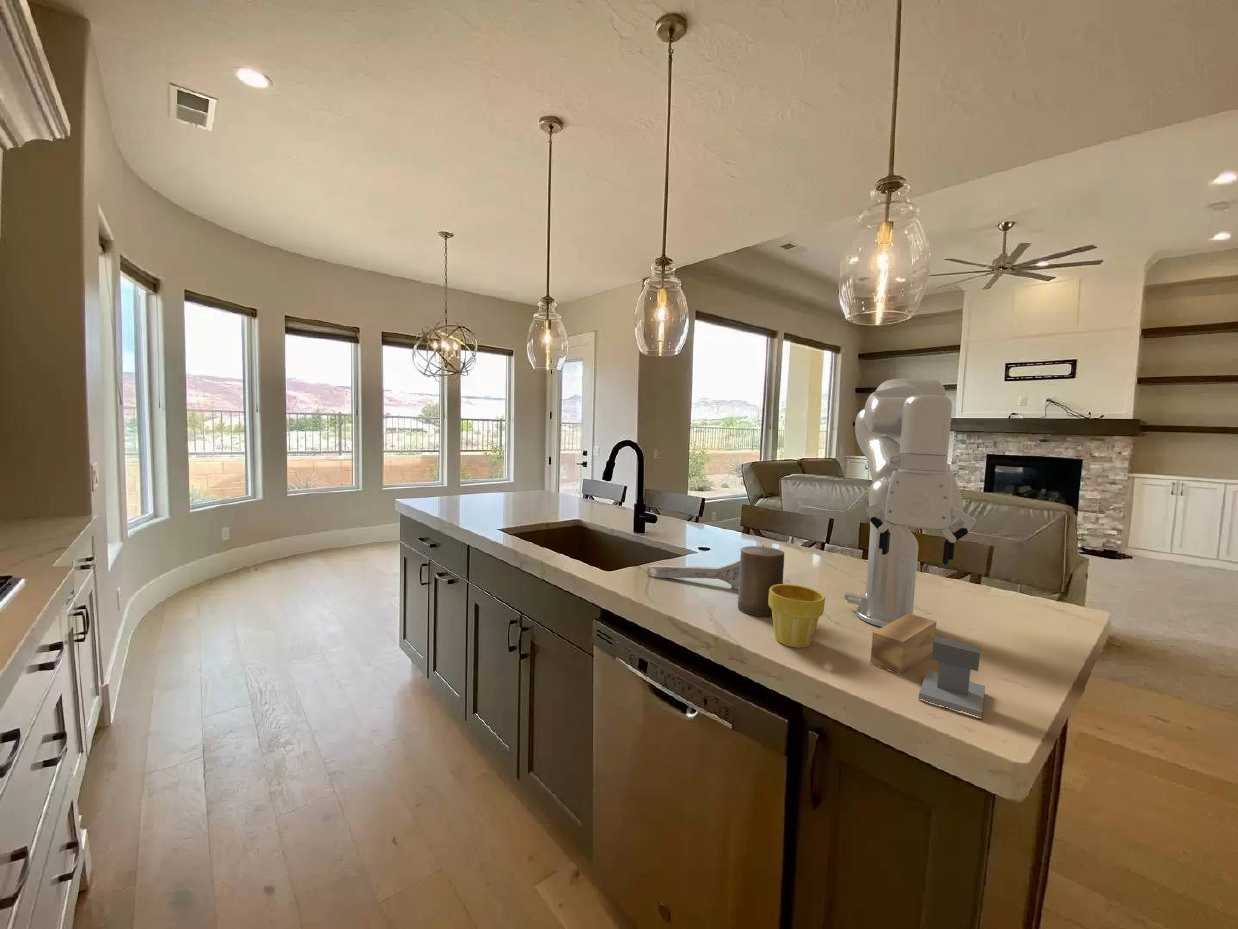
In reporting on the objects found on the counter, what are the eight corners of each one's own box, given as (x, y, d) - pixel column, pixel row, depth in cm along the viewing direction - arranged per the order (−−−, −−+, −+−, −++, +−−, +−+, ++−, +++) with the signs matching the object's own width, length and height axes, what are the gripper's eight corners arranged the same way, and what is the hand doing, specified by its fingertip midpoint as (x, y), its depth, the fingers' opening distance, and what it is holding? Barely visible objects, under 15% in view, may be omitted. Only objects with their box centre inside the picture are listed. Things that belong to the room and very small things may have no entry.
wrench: (649, 585, 141) (761, 589, 130) (647, 587, 140) (760, 591, 128) (647, 556, 141) (759, 558, 129) (645, 557, 139) (758, 560, 128)
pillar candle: (786, 618, 112) (791, 550, 111) (741, 616, 112) (745, 548, 111) (774, 603, 122) (778, 541, 121) (733, 601, 122) (737, 539, 121)
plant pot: (833, 646, 98) (837, 596, 98) (795, 656, 93) (799, 604, 92) (791, 626, 107) (794, 581, 106) (754, 635, 102) (757, 587, 101)
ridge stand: (918, 700, 79) (923, 647, 79) (926, 676, 87) (931, 628, 87) (981, 720, 75) (986, 663, 74) (984, 693, 82) (989, 642, 82)
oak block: (870, 664, 92) (872, 632, 91) (905, 642, 102) (908, 613, 101) (900, 676, 88) (902, 642, 87) (933, 651, 98) (936, 621, 98)
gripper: (865, 461, 94) (858, 553, 95) (980, 469, 84) (970, 571, 85) (873, 460, 100) (867, 547, 101) (981, 467, 90) (972, 563, 91)
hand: (914, 558), depth 93 cm, fingers open, 9 cm apart
